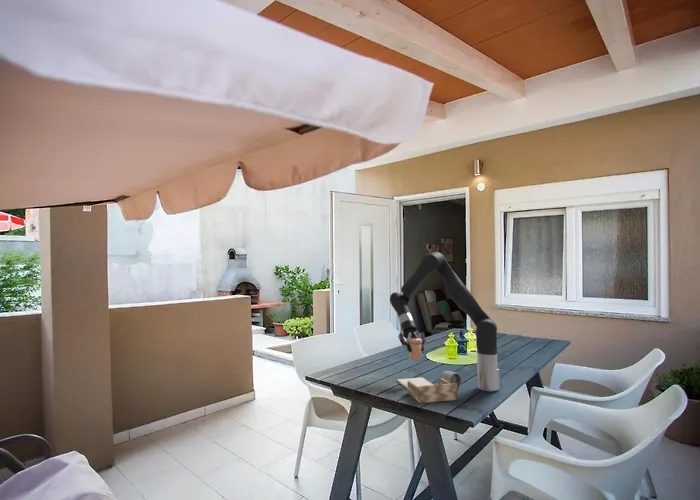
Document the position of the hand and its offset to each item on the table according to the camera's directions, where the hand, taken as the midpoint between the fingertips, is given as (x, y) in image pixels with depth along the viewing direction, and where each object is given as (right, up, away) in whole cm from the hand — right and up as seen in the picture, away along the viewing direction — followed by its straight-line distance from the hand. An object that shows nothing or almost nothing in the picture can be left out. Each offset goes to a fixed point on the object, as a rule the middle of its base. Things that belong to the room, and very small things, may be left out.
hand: (416, 351), depth 196 cm
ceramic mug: (+15, -17, -4) cm, 23 cm away
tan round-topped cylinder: (0, -4, +2) cm, 5 cm away
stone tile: (0, -17, +1) cm, 17 cm away
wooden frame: (+4, -16, -16) cm, 23 cm away
